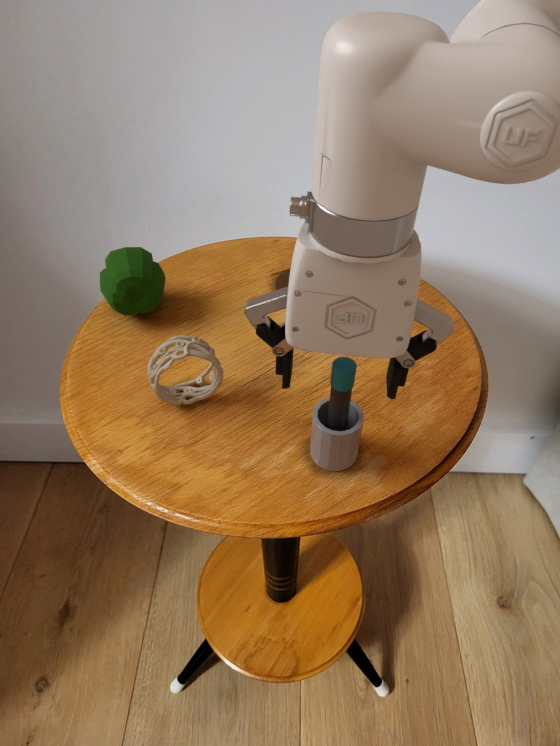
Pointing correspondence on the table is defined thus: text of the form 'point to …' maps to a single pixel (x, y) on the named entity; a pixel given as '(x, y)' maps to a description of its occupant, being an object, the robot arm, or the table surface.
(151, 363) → the bracelet
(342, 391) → the marker
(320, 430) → the pot
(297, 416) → the table surface
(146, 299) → the bell pepper
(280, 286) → the coaster
